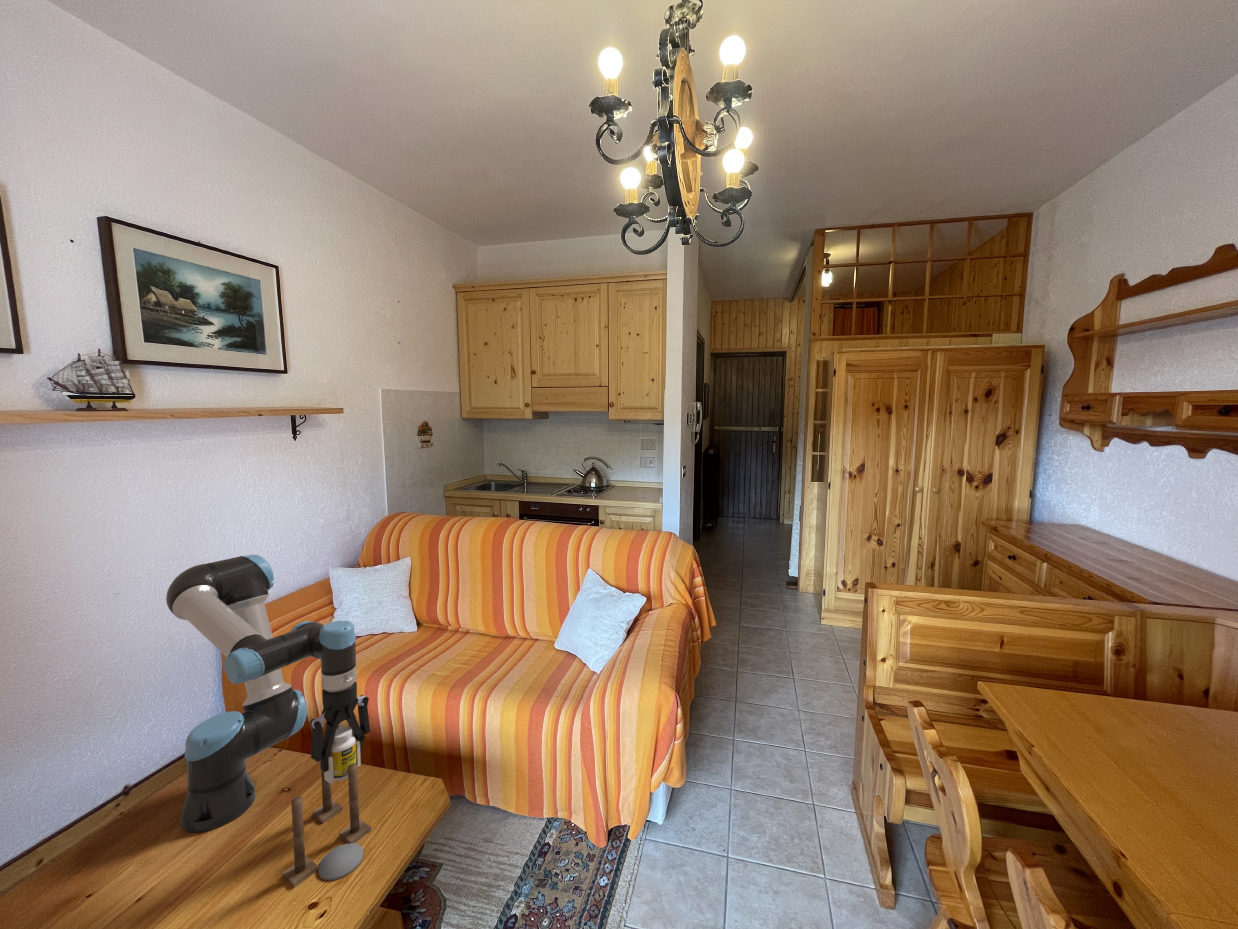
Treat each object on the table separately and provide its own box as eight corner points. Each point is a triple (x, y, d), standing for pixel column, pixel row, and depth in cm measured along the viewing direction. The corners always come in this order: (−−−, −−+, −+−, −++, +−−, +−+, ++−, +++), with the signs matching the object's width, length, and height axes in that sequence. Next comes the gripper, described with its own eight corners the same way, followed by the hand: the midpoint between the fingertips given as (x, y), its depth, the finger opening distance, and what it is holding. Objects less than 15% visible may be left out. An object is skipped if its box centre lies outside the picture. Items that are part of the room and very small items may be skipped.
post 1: (282, 877, 108) (278, 802, 106) (306, 859, 112) (303, 788, 111) (294, 888, 105) (290, 812, 104) (318, 870, 109) (314, 796, 108)
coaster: (310, 868, 110) (310, 865, 110) (349, 839, 117) (349, 837, 117) (331, 887, 105) (331, 885, 105) (371, 856, 113) (371, 854, 113)
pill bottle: (344, 783, 119) (342, 741, 118) (322, 780, 120) (320, 737, 119) (362, 766, 125) (360, 725, 124) (341, 763, 126) (339, 722, 125)
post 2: (312, 815, 125) (309, 750, 124) (332, 802, 129) (329, 740, 128) (322, 823, 122) (319, 757, 121) (342, 810, 126) (339, 746, 125)
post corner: (339, 836, 118) (336, 768, 117) (359, 822, 123) (356, 756, 121) (351, 845, 116) (348, 776, 114) (370, 830, 120) (368, 763, 119)
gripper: (306, 708, 111) (311, 803, 112) (384, 672, 127) (386, 755, 129) (289, 699, 114) (294, 791, 116) (367, 664, 131) (369, 746, 133)
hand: (343, 772), depth 123 cm, fingers closed on pill bottle, 6 cm apart
